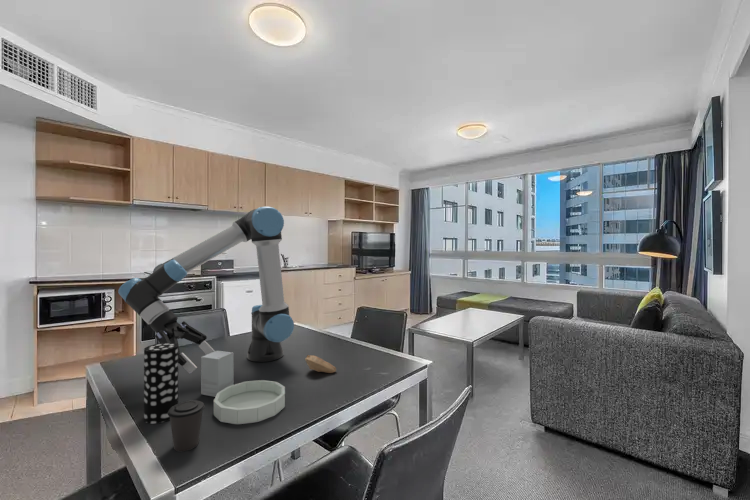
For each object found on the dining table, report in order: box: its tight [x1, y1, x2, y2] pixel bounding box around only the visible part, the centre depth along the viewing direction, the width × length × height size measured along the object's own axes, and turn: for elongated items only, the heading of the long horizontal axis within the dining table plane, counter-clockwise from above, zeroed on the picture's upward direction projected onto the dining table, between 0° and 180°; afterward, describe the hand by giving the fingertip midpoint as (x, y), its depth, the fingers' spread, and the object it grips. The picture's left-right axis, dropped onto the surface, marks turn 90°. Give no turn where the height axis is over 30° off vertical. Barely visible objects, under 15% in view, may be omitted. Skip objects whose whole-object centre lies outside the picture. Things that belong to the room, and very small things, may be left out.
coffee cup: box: [167, 400, 206, 452], centre depth 83 cm, size 8×8×10 cm
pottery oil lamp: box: [304, 354, 337, 374], centre depth 131 cm, size 9×12×7 cm
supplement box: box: [200, 350, 235, 397], centre depth 113 cm, size 7×7×13 cm
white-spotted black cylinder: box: [143, 342, 179, 425], centre depth 97 cm, size 8×8×20 cm
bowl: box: [213, 379, 286, 425], centre depth 103 cm, size 20×20×4 cm
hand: (204, 363), depth 112 cm, fingers open, 13 cm apart
